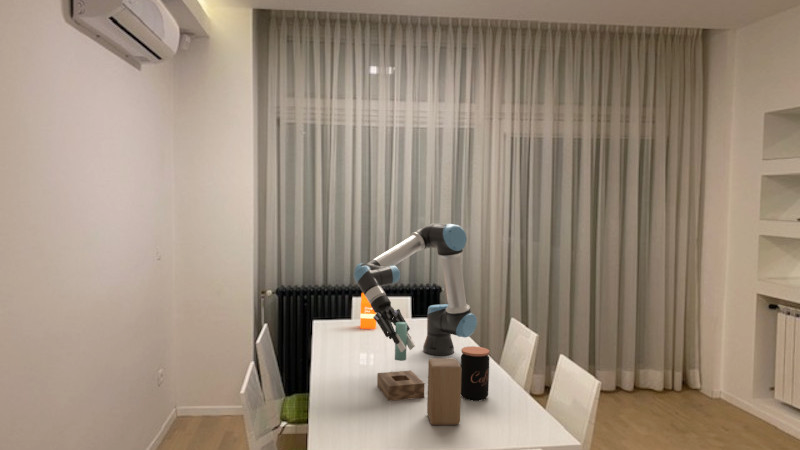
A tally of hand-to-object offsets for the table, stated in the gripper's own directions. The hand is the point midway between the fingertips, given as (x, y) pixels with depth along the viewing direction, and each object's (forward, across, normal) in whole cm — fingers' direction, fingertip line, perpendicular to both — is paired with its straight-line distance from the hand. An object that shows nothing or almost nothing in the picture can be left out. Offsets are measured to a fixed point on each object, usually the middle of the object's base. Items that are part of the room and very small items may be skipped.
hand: (408, 348), depth 213 cm
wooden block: (+30, +9, +5) cm, 32 cm away
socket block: (+10, 0, -15) cm, 18 cm away
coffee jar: (+26, -17, +1) cm, 31 cm away
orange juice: (-51, -67, -76) cm, 113 cm away
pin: (+1, 0, -6) cm, 6 cm away
